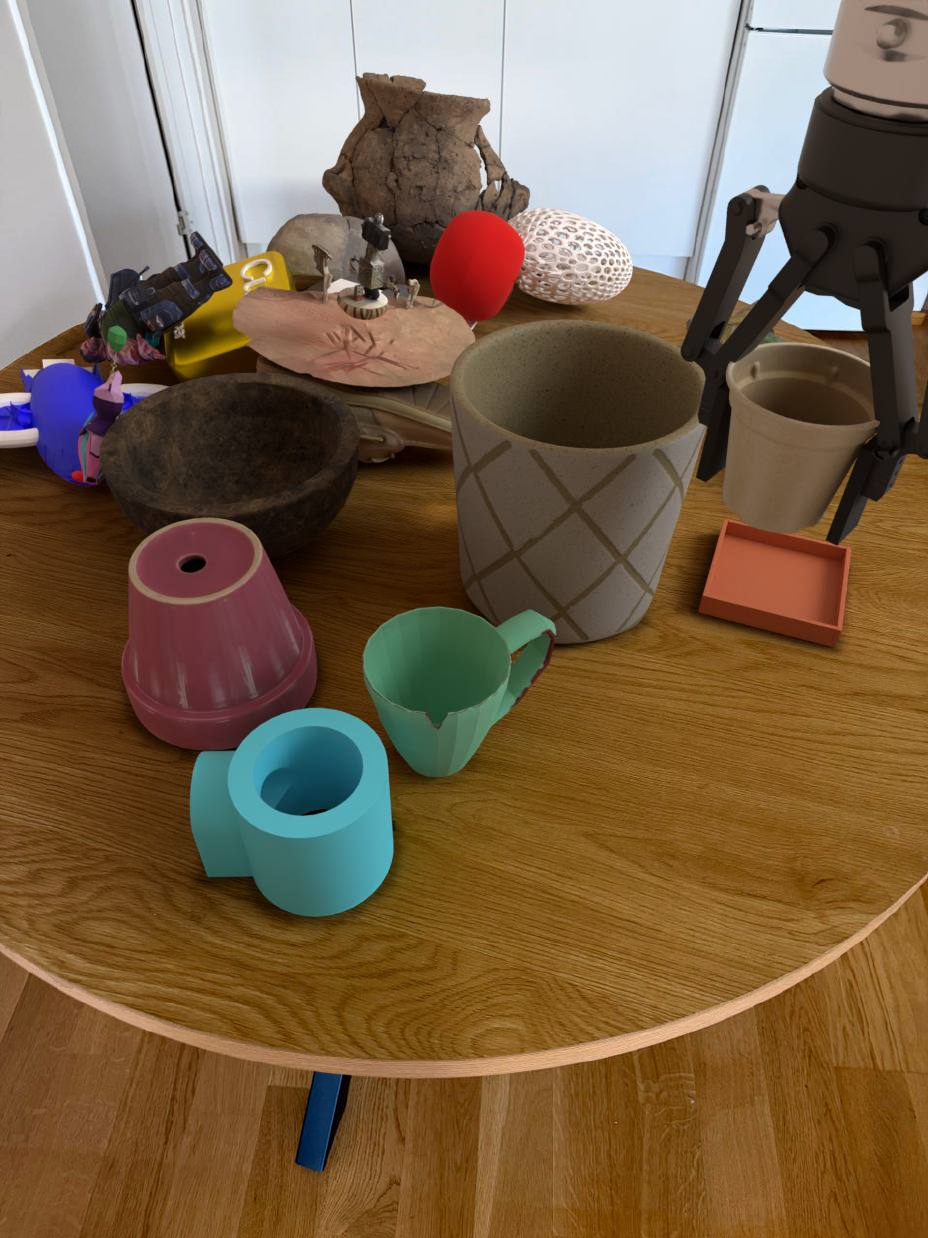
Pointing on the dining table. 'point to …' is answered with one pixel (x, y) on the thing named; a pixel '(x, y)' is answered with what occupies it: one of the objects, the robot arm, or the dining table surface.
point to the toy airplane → (58, 412)
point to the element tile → (223, 323)
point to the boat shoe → (388, 413)
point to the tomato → (476, 264)
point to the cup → (298, 811)
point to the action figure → (152, 305)
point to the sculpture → (355, 325)
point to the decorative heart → (570, 258)
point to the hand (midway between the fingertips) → (774, 500)
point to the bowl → (235, 457)
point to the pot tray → (778, 583)
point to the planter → (571, 470)
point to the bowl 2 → (329, 246)
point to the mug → (450, 680)
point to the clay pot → (419, 164)
